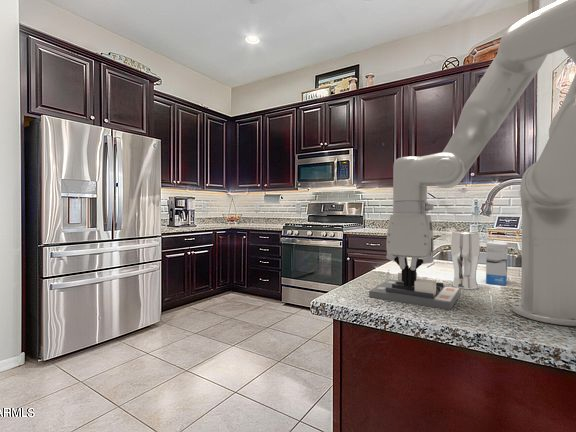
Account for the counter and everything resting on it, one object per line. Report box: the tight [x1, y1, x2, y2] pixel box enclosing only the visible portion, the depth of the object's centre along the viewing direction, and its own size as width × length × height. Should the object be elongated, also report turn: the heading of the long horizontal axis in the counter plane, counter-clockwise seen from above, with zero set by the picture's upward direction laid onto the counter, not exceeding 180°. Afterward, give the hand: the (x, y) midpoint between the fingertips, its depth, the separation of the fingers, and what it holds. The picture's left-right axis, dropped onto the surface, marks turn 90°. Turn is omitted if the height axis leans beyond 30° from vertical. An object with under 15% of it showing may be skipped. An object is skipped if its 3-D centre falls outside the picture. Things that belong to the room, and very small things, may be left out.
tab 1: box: [397, 270, 418, 284], centre depth 85 cm, size 4×4×3 cm
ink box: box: [485, 240, 509, 286], centre depth 94 cm, size 8×5×12 cm, turn 143°
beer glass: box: [450, 231, 481, 290], centre depth 88 cm, size 7×7×15 cm
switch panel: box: [368, 278, 462, 311], centre depth 80 cm, size 18×16×2 cm
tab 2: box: [415, 278, 437, 295], centre depth 75 cm, size 4×4×3 cm
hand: (408, 285), depth 77 cm, fingers closed
